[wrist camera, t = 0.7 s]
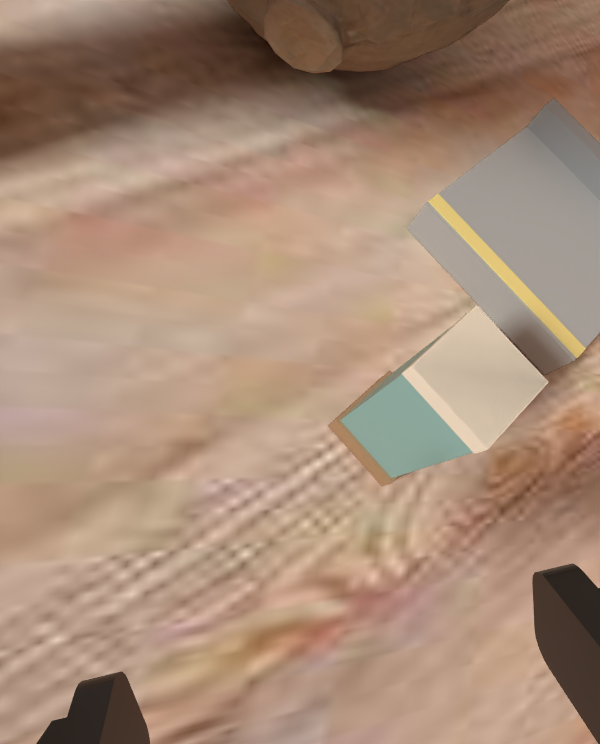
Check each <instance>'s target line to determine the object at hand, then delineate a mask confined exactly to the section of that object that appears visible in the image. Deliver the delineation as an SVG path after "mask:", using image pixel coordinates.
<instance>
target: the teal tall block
mask: <svg viewBox="0 0 600 744" xmlns="http://www.w3.org/2000/svg"><path fill="white" fill-rule="evenodd" d="M547 383H548V381H547V380H546V379H545V378H544V377H543V376H542V374H541V373H540V372H539V371H538V370H537V369H536V368H535V367H534V366H533V365H532V364H531V363H530V362H529V361H528V360H527V358H526V357H525V356H524V355H523V354H522V353H521V352H520V351H519V350H518V349H517V348H516V347H515V346H514V345H513V344H512V343H511V341H510V340H509V339H508V338H507V337H506V336H505V335H504V334H503V333H502V332H501V331H500V330H499V329H498V328H497V327H496V325H495V324H494V323H493V322H492V321H491V320H490V319H489V318H488V317H487V316H486V315H485V314H484V313H483V312H482V311H481V309H480V308H479V307H478V306H475V307H474V308H473V309H472V310H470V311H469V312H468V313H467V314H465V315H464V316H463V317H462V318H461V319H460V320H459V321H458V322H457V323H455V324H454V325H453V326H452V327H451V328H449V329H448V330H447V331H445V332H444V333H443V334H442V335H440V336H439V337H438V338H437V339H435V340H434V341H433V342H431V343H430V344H429V345H428V346H426V347H425V348H424V349H423V350H421V351H420V352H419V353H417V354H416V355H415V356H414V357H412V358H411V359H410V360H408V361H407V362H406V363H405V364H403V365H402V366H401V367H400V368H398V369H397V370H396V371H394V372H393V373H392V372H391V371H389V372H388V373H386V374H385V375H384V376H383V377H381V378H380V379H379V380H378V381H377V382H376V383H375V384H374V385H372V386H371V387H370V388H369V389H368V390H367V391H366V392H365V393H364V394H363V395H361V396H360V397H359V398H358V399H357V400H356V401H355V402H354V403H353V404H351V405H350V406H349V407H348V408H347V409H346V410H345V411H344V412H343V413H342V414H340V415H339V416H338V417H337V418H336V419H335V420H334V421H333V422H332V423H331V424H329V425H328V426H329V427H330V428H331V430H332V431H333V432H334V433H335V434H336V435H337V436H338V437H339V439H340V440H341V441H342V442H343V443H344V444H345V445H346V446H347V448H348V449H349V450H350V451H351V452H352V453H353V454H354V456H355V457H356V458H357V459H358V460H359V461H360V462H361V463H362V465H363V466H364V467H365V468H366V469H367V470H368V471H369V472H370V474H371V475H372V476H373V477H374V478H375V479H376V480H377V481H378V483H379V484H380V485H381V486H384V485H387V484H391V483H392V482H393V481H394V480H395V479H396V478H397V477H398V476H400V475H403V474H406V473H410V472H413V471H416V470H419V469H422V468H425V467H429V466H432V465H435V464H438V463H441V462H444V461H448V460H451V459H454V458H457V457H460V456H464V455H467V454H470V453H474V454H475V453H479V452H482V451H485V450H488V449H489V447H490V446H491V445H492V444H493V443H494V442H495V441H496V440H497V439H498V438H499V436H500V435H501V434H502V433H503V432H504V431H505V430H506V429H507V428H508V427H509V425H510V424H511V423H512V422H513V421H514V420H515V419H516V418H517V417H518V415H519V414H520V413H521V412H522V411H523V410H524V409H525V408H526V407H527V406H528V404H529V403H530V402H531V401H532V400H533V399H534V398H535V397H536V396H537V394H538V393H539V392H540V391H541V390H542V389H543V388H544V387H545V386H546V385H547Z"/></svg>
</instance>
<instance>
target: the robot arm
mask: <svg viewBox="0 0 600 744" xmlns="http://www.w3.org/2000/svg"><path fill="white" fill-rule="evenodd" d="M533 603H534V625H535V635H536V639H537V643H538V646H539V649H540V651H541V654H542V656H543V658H544V660H545V662H546V664H547V666H548V667H549V669H550V670H551V672H552V673H553V675H554V677H555V678H556V680H557V681H558V683H559V684H560V686H561V687H562V689H563V690H564V692H565V693H566V695H567V696H568V698H569V699H570V701H571V703H572V704H573V706H574V707H575V709H576V710H577V712H578V713H579V715H580V716H581V718H582V719H583V721H584V722H585V724H586V726H587V727H588V729H589V730H590V732H591V733H592V735H593V736H594V738H595V739H596V741H597V742H598V744H600V588H597V586H596V585H595V584H594V583H593V582H592V581H591V580H590V579H589V578H588V576H587V575H586V574H585V573H584V572H583V571H582V570H581V569H580V568H579V567H578V566H576V565H575V564H568V565H564V566H560V567H556V568H552V569H548V570H544V571H540V572H535V573H534V575H533ZM37 744H150V739H149V733H148V729H147V725H146V723H145V720H144V718H143V715H142V713H141V711H140V708H139V706H138V703H137V701H136V698H135V696H134V693H133V691H132V689H131V686H130V684H129V681H128V679H127V677H126V675H125V674H124V673H123V672H118V673H114V674H109V675H105V676H101V677H97V678H93V679H89V680H85V681H81V682H80V683H79V684H78V686H77V688H76V690H75V693H74V696H73V700H72V703H71V706H70V709H69V713H68V716H67V717H66V718H62V719H58V720H54V721H52V722H51V723H50V725H49V726H48V728H47V729H46V731H45V732H44V733H43V735H42V736H41V738H40V739H39V741H38V742H37Z"/></svg>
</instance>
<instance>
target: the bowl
mask: <svg viewBox="0 0 600 744" xmlns="http://www.w3.org/2000/svg"><path fill="white" fill-rule="evenodd" d="M227 1H228V2H229V4H230V5H231V6H232V8H233V9H234V10H235V11H236V12H237V13H238V14H239V15H240V16H241V17H242V18H244V19H245V20H246V21H247V22H248V23H249V24H250V25H251V27H252V28H253V29H254V31H255V32H256V33H257V34H258V35H260V36H261V37H262V38H264V39H265V40H267V41H268V43H269V44H270V46H271V47H272V49H273V51H274V52H275V53H276V54H277V55H278V56H279V57H281V58H282V59H283V60H284V61H285V62H287V63H288V64H289V65H290V66H292V67H293V68H295V69H298V70H302V71H306V72H310V73H313V74H315V73H323V72H331V71H332V70H333V69H335V70H344V71H358V72H361V71H379V70H385V69H388V68H391V67H394V66H396V65H399V64H402V63H405V62H407V61H410V60H412V59H415V58H417V57H419V56H421V55H423V54H428V53H430V52H433V51H436V50H438V49H441V48H444V47H447V46H449V45H451V44H452V43H454V42H455V41H457V40H459V39H460V38H462V37H463V36H465V35H467V34H468V33H470V32H471V31H472V30H474V29H475V28H477V27H478V26H479V25H481V24H482V23H484V22H485V21H487V20H488V19H489V18H491V17H492V16H494V15H495V14H496V13H497V12H498V11H499V10H500V9H501V8H502V7H503V6H504V5H505V4H506V3H507V2H508V1H509V0H227Z"/></svg>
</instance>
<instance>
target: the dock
mask: <svg viewBox="0 0 600 744" xmlns="http://www.w3.org/2000/svg"><path fill="white" fill-rule="evenodd" d="M407 229H408V230H409V231H410V232H411V233H412V235H413V236H414V237H415V238H416V239H417V240H418V241H419V242H420V243H421V244H422V245H423V246H424V247H425V248H426V249H427V251H428V252H429V253H430V254H431V255H432V256H433V257H434V258H435V259H436V260H437V261H438V262H439V263H440V264H441V265H442V267H443V268H444V269H445V270H446V271H447V272H448V273H449V274H450V275H451V276H452V277H453V278H454V279H455V280H456V281H457V283H458V284H459V285H460V286H461V287H462V288H463V289H464V290H465V291H466V292H467V293H468V294H469V295H470V296H471V297H472V299H473V300H474V301H475V302H476V303H477V304H478V305H479V306H480V307H481V308H482V309H483V310H484V311H485V312H486V313H487V315H488V316H489V317H490V318H491V319H492V320H493V321H494V322H495V323H496V324H497V325H498V326H499V327H500V328H501V329H502V330H503V332H504V333H505V334H506V335H507V336H508V337H509V338H510V339H511V340H512V341H513V342H514V343H515V344H516V345H517V346H518V348H519V349H520V350H521V351H522V352H523V353H524V354H525V355H526V356H527V357H528V358H529V359H530V360H531V361H532V362H533V364H534V365H535V366H536V367H537V368H538V369H539V370H540V371H541V372H542V373H543V374H544V375H545V374H547V373H549V372H551V371H553V370H556V369H558V368H560V367H562V366H564V365H566V364H569V363H571V362H573V361H575V360H576V358H578V357H579V356H580V355H581V354H582V352H583V351H584V350H585V349H586V347H587V346H588V345H589V344H590V343H591V342H592V341H593V339H594V338H595V337H596V336H597V335H598V334H599V333H600V143H599V142H598V141H597V140H596V139H595V138H594V137H593V136H592V135H591V134H590V133H589V132H588V131H587V130H586V129H585V128H584V127H583V126H582V125H581V124H580V123H579V122H578V121H577V120H576V119H575V118H574V117H573V116H572V115H571V114H570V113H569V112H568V111H567V110H566V109H565V108H564V107H563V106H562V105H561V104H560V103H559V102H558V101H557V100H556V99H555V98H554V99H552V100H551V101H550V102H548V103H547V104H546V105H545V106H544V107H543V108H542V109H541V110H540V112H539V113H538V114H537V115H536V116H535V117H534V119H533V120H532V121H531V122H530V123H529V125H528V126H527V127H526V128H524V129H523V130H522V131H520V132H519V133H518V134H516V135H515V136H514V137H512V138H511V139H510V140H508V141H507V142H506V143H505V144H503V145H502V146H501V147H499V148H498V149H497V150H495V151H494V152H493V153H491V154H490V155H489V156H487V157H486V158H485V159H484V160H482V161H481V162H480V163H478V164H477V165H476V166H474V167H473V168H472V169H470V170H469V171H468V172H466V173H465V174H464V175H463V176H461V177H460V178H459V179H457V180H456V181H455V182H453V183H452V184H451V185H449V186H448V187H447V188H445V189H444V190H443V191H442V192H440V193H439V194H437V195H436V196H434V197H433V198H432V199H431V200H429V201H428V202H427V203H426V204H425V205H424V206H423V208H422V209H421V210H420V212H419V213H418V214H417V216H416V217H415V218H414V220H413V221H412V223H411V224H410V225H409V227H408V228H407Z"/></svg>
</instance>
